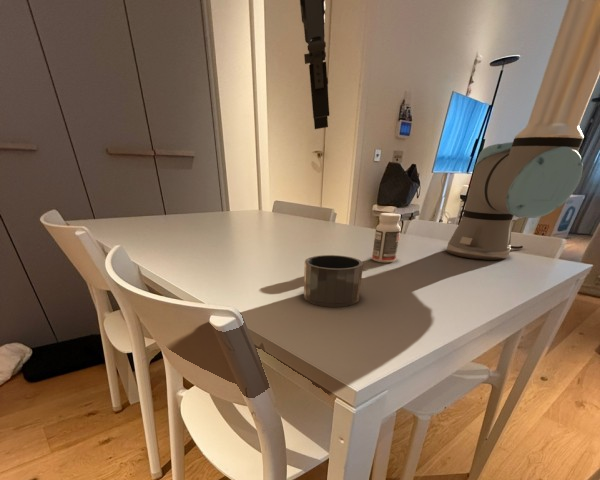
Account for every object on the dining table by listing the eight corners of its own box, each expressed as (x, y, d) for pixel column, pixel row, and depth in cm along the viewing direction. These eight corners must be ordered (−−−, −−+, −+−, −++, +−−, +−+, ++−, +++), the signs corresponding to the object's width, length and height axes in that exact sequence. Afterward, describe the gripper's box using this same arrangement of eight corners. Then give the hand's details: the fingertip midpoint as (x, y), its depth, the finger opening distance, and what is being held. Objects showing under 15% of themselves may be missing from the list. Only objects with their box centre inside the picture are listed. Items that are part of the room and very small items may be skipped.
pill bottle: (397, 259, 83) (405, 213, 77) (392, 264, 79) (400, 216, 73) (375, 256, 85) (381, 212, 79) (369, 261, 81) (375, 214, 75)
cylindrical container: (349, 288, 64) (352, 254, 60) (366, 305, 56) (371, 268, 52) (299, 290, 62) (300, 255, 59) (310, 308, 54) (311, 270, 51)
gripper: (290, -11, 62) (304, 134, 73) (274, -110, 41) (297, 115, 52) (330, -20, 61) (338, 128, 72) (335, -126, 40) (345, 106, 51)
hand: (321, 123), depth 62 cm, fingers open, 13 cm apart
